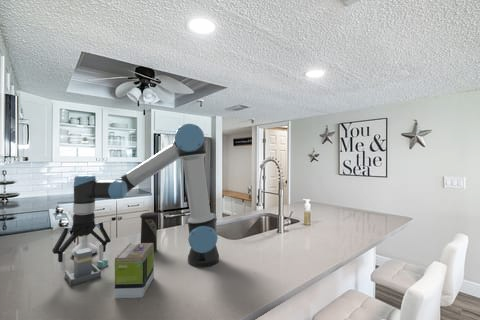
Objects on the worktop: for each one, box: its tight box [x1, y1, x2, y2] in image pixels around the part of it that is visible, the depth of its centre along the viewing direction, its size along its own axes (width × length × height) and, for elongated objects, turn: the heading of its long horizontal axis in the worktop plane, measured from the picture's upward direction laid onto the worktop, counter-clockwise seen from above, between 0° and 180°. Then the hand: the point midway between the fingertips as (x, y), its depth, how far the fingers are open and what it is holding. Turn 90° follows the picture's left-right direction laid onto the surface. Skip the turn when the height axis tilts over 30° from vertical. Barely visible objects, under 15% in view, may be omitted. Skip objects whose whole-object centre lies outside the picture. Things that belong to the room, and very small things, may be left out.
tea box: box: [114, 242, 155, 299], centre depth 93 cm, size 15×10×15 cm, turn 5°
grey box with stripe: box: [73, 248, 93, 278], centre depth 100 cm, size 5×5×10 cm
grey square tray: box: [64, 263, 102, 287], centre depth 100 cm, size 11×10×2 cm
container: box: [139, 211, 159, 253], centre depth 130 cm, size 9×9×20 cm
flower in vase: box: [70, 235, 99, 257], centre depth 123 cm, size 13×11×25 cm
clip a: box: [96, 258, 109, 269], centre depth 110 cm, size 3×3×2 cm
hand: (82, 264), depth 100 cm, fingers open, 13 cm apart
